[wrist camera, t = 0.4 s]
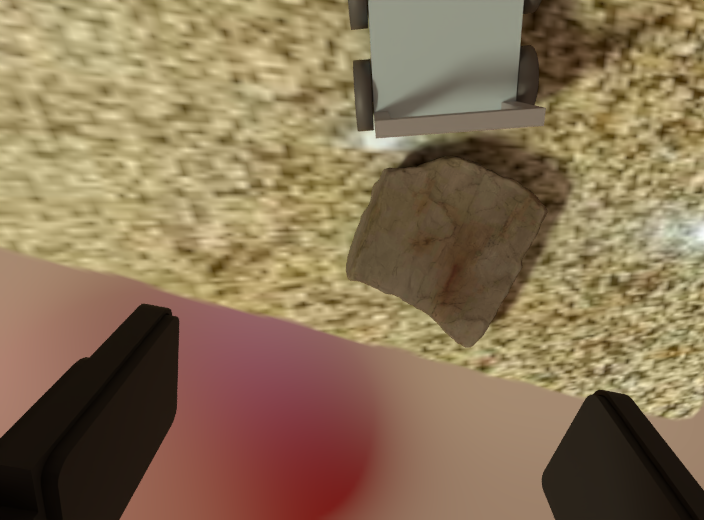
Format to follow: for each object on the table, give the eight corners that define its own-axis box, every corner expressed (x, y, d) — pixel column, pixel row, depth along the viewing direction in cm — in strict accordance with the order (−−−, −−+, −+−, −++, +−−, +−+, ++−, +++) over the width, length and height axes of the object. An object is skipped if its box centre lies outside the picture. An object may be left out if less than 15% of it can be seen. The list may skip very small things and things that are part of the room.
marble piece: (465, 333, 44) (474, 359, 40) (332, 288, 42) (328, 311, 38) (550, 187, 37) (571, 201, 33) (395, 127, 35) (398, 134, 32)
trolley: (347, -47, 30) (337, -96, 21) (526, -66, 29) (598, -126, 20) (359, 126, 35) (355, 148, 26) (512, 115, 34) (565, 132, 25)
